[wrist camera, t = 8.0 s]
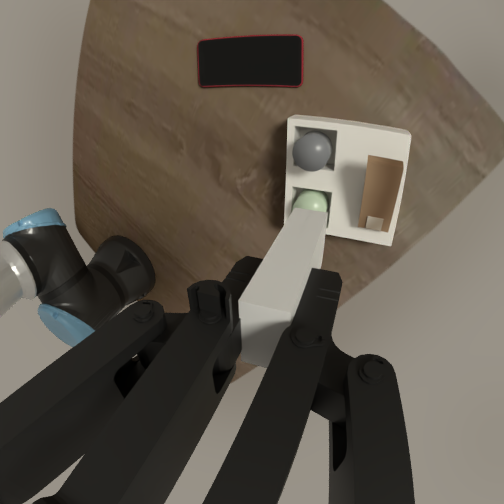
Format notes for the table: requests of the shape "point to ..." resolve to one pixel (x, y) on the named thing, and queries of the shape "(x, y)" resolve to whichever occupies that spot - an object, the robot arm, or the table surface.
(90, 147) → the table surface
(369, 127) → the panel
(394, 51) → the table surface
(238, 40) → the smartphone
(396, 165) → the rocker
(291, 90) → the table surface
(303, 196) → the button sage
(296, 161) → the button graphite
